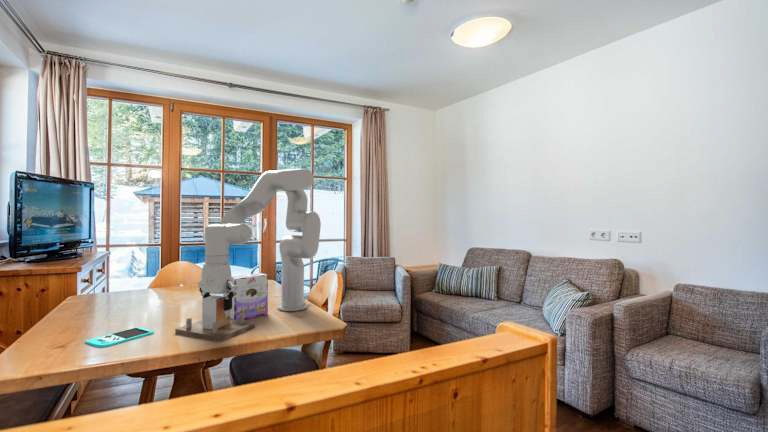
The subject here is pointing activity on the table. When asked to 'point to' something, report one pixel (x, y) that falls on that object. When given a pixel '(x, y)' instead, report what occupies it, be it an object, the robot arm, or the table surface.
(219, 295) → the small box
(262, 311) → the candy box
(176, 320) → the table surface
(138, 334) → the handheld game console
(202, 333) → the peg board
